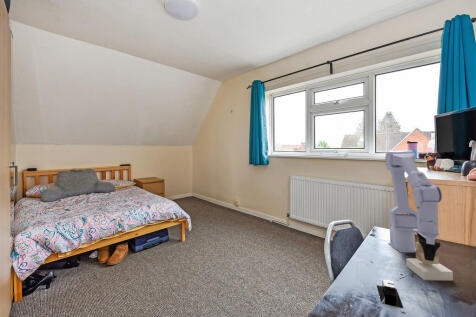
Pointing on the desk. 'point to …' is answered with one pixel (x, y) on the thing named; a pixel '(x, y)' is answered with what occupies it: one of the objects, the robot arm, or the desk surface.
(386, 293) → the black mounting plate
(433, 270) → the base
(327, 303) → the desk surface
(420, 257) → the oak block
